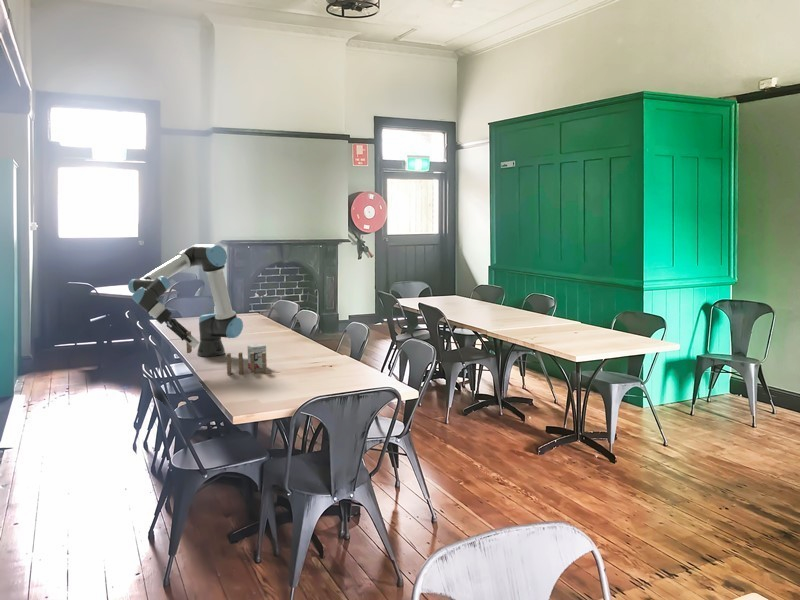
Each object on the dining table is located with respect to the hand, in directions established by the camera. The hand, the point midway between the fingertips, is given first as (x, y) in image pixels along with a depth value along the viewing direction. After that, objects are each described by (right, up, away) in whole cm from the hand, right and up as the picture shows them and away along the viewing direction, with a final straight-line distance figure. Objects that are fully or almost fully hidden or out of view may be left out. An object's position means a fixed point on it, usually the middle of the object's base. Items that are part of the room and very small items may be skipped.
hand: (196, 345), depth 337 cm
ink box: (+26, -13, +17) cm, 34 cm away
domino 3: (+26, -14, +6) cm, 31 cm away
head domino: (-4, -3, 0) cm, 5 cm away
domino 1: (+15, -14, +4) cm, 21 cm away
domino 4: (+32, -14, +7) cm, 36 cm away
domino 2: (+21, -14, +5) cm, 26 cm away
